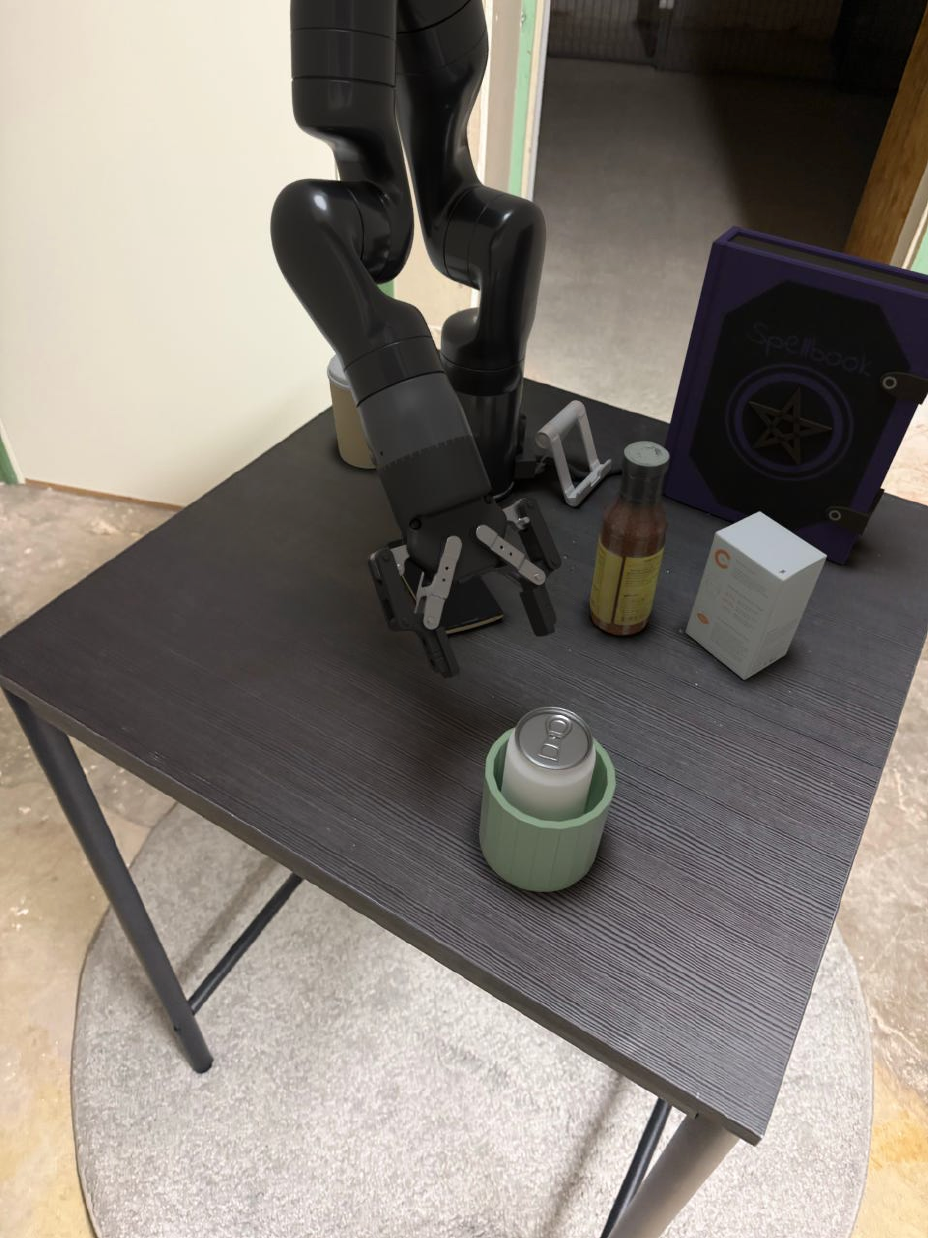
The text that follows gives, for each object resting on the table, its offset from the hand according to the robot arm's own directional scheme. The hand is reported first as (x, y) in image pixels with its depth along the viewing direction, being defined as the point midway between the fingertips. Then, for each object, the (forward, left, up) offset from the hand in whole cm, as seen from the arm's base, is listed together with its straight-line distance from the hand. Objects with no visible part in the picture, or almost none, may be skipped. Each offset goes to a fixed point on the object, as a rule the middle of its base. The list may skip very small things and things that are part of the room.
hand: (500, 654), depth 65 cm
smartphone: (-9, -22, -14) cm, 28 cm away
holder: (0, +8, -14) cm, 16 cm away
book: (-47, -14, -14) cm, 51 cm away
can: (0, +8, -14) cm, 16 cm away
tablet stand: (-32, -31, -14) cm, 47 cm away
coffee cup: (-14, -48, -14) cm, 52 cm away
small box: (-30, 0, -14) cm, 33 cm away
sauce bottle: (-22, -9, -14) cm, 28 cm away
